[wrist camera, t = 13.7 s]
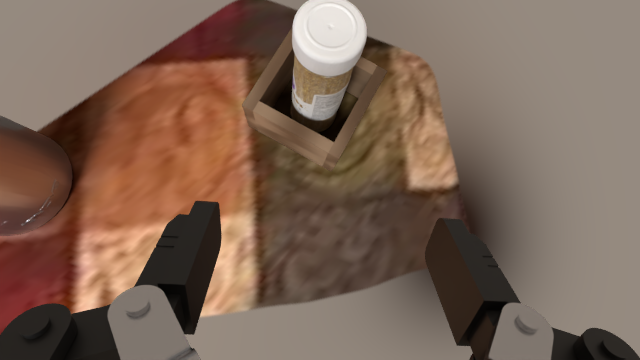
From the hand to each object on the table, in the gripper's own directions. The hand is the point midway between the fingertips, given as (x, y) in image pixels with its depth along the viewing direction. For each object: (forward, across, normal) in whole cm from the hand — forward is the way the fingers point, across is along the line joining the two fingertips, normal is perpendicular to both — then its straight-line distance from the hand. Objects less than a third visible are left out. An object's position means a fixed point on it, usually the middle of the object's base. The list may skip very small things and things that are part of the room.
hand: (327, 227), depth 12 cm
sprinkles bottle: (+22, 0, +5) cm, 22 cm away
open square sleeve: (+22, 0, +4) cm, 22 cm away
